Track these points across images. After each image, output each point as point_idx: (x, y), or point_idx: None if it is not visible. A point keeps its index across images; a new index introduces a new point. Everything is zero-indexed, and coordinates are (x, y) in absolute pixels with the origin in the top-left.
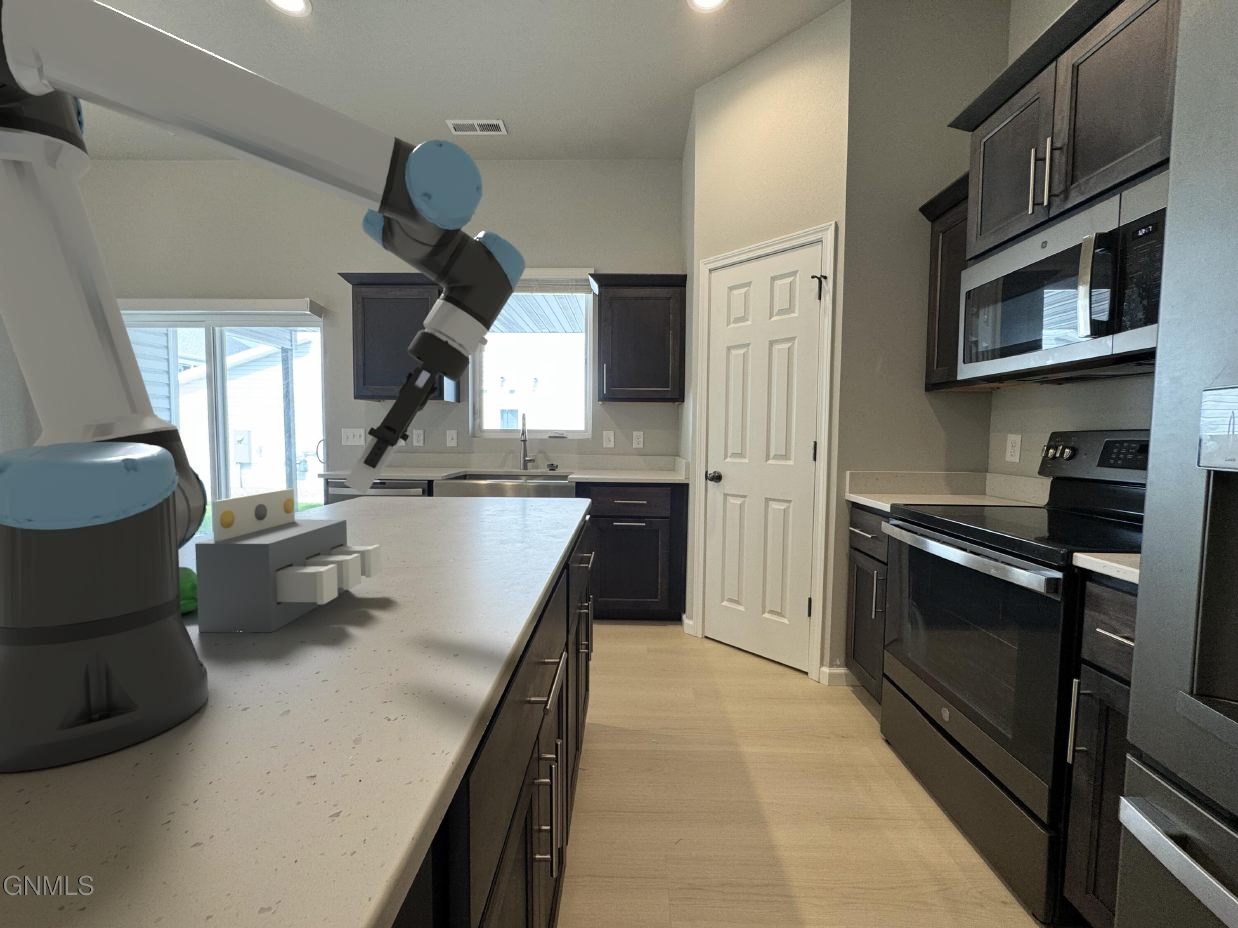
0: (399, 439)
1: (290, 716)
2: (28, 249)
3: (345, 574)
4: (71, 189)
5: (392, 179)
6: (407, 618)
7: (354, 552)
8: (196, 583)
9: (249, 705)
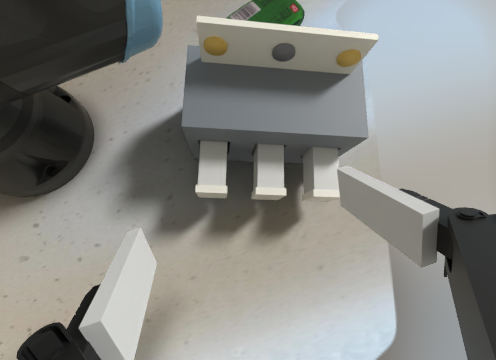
0: (429, 259)
1: (16, 265)
2: None
3: (253, 193)
4: None
5: None
6: (230, 268)
7: (313, 175)
8: None
9: (41, 225)
